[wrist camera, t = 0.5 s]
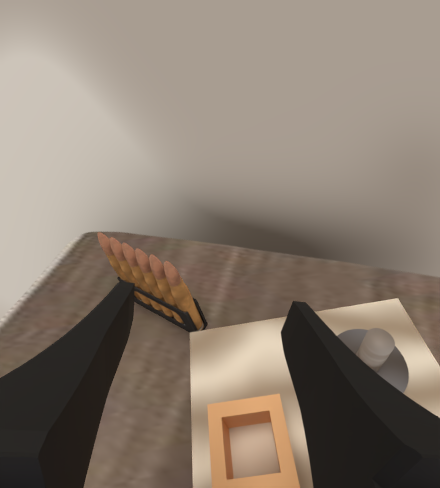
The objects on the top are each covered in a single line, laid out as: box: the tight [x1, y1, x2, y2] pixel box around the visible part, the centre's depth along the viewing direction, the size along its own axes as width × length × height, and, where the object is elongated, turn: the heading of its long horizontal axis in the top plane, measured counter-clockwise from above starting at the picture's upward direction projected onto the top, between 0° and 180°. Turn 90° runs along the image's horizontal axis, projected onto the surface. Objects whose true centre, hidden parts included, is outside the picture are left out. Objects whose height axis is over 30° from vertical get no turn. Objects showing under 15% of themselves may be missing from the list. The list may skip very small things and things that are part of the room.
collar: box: [207, 394, 300, 488], centre depth 21 cm, size 6×6×4 cm
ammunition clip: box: [98, 232, 207, 332], centre depth 30 cm, size 11×2×12 cm, turn 58°
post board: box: [190, 298, 440, 488], centre depth 23 cm, size 16×22×7 cm
